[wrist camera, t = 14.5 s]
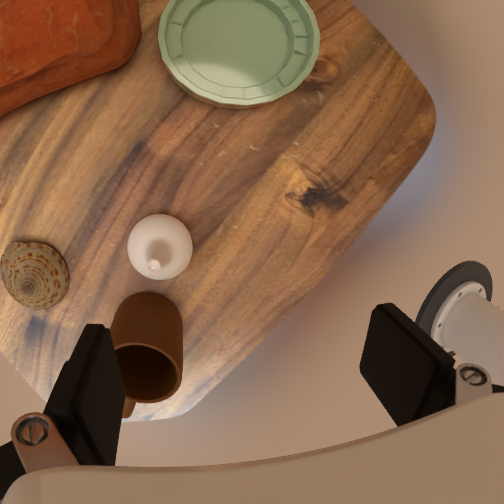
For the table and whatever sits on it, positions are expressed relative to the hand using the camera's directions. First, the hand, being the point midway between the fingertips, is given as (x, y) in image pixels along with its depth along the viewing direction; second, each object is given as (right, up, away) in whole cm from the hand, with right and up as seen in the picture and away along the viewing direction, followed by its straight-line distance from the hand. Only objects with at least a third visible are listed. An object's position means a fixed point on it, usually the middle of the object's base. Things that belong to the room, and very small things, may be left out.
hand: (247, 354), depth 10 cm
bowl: (-1, +24, +15) cm, 28 cm away
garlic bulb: (-9, +5, +21) cm, 23 cm away
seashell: (-24, +1, +19) cm, 30 cm away
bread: (-24, +25, +10) cm, 36 cm away
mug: (-12, -6, +24) cm, 27 cm away
